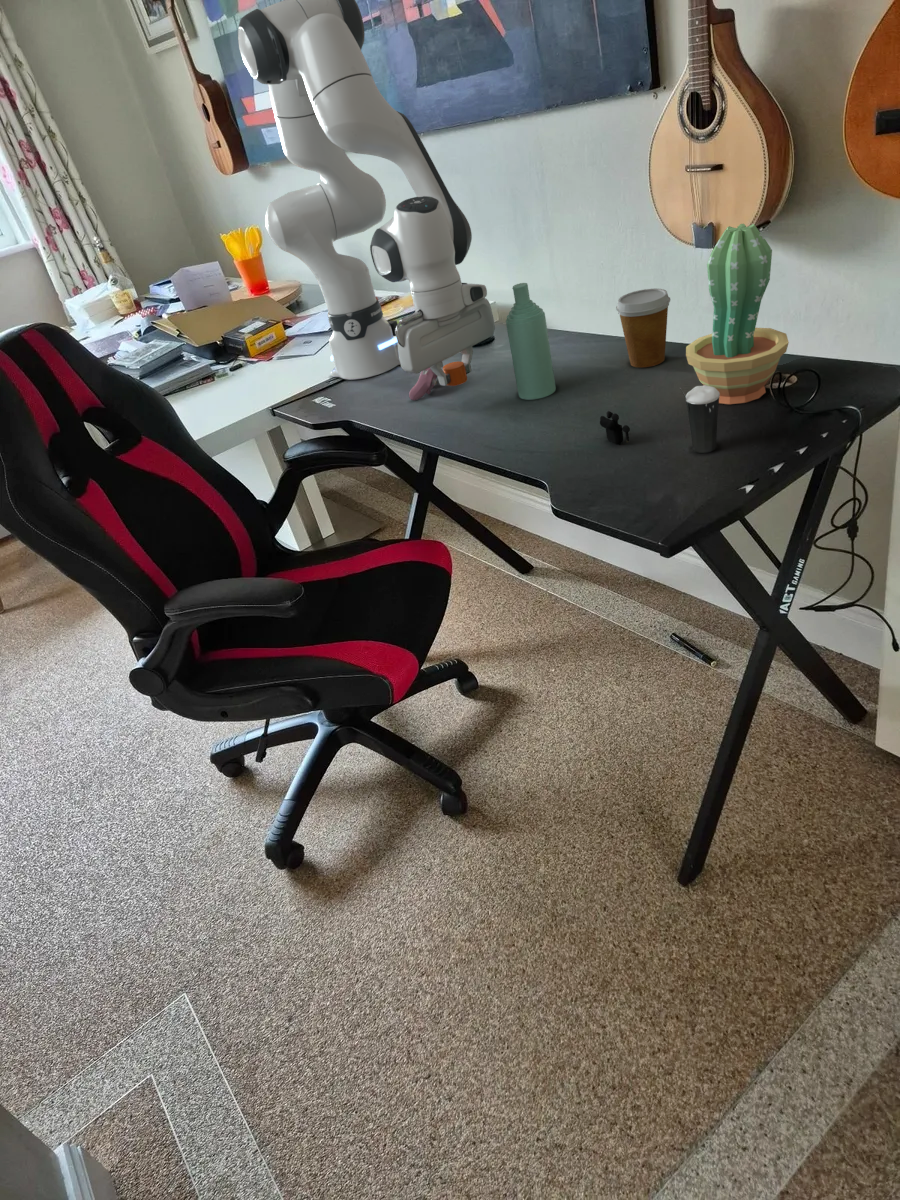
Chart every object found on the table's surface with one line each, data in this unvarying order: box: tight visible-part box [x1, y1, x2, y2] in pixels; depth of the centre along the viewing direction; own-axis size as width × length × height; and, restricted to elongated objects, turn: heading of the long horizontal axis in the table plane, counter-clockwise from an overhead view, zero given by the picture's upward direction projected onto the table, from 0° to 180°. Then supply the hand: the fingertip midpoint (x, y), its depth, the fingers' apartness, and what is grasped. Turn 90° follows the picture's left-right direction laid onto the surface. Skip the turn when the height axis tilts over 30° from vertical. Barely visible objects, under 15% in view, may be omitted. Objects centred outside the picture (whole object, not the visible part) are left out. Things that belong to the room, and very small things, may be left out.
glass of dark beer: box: [679, 384, 720, 454], centre depth 110 cm, size 4×5×10 cm
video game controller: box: [408, 367, 438, 401], centre depth 157 cm, size 10×5×7 cm, turn 168°
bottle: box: [505, 282, 557, 401], centre depth 140 cm, size 7×7×20 cm
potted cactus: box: [685, 223, 790, 405], centre depth 119 cm, size 15×15×25 cm
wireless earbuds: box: [599, 410, 631, 445], centre depth 119 cm, size 7×2×5 cm, turn 28°
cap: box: [442, 360, 468, 387], centre depth 141 cm, size 4×4×3 cm
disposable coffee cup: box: [615, 288, 671, 369], centre depth 142 cm, size 10×10×12 cm
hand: (456, 378), depth 142 cm, fingers closed on cap, 4 cm apart
